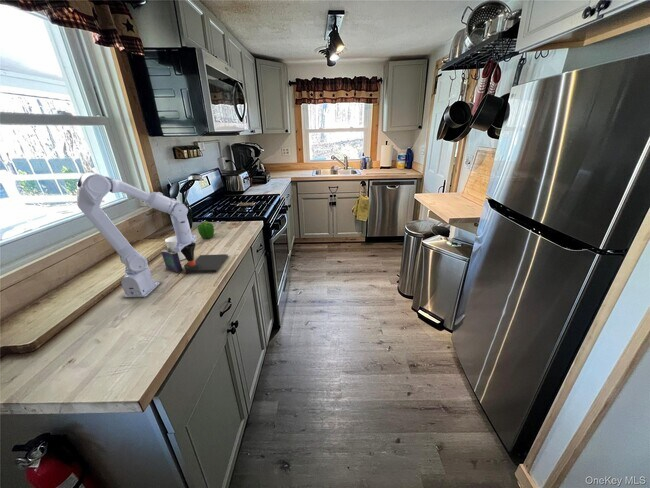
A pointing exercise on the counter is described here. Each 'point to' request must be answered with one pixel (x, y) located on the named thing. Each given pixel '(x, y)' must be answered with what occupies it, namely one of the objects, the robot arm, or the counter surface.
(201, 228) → the bell pepper
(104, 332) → the counter surface
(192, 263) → the tare button
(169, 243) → the white cup
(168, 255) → the dark blue flat block
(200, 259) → the scale
